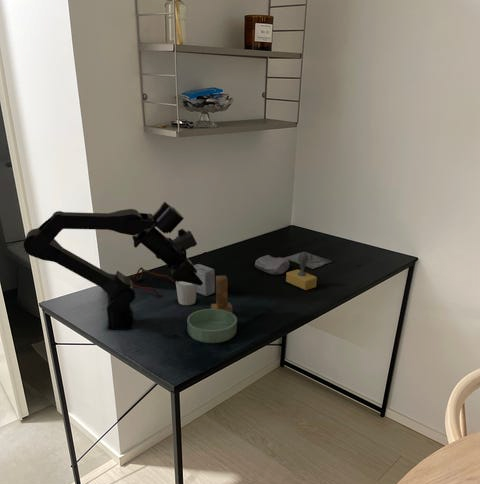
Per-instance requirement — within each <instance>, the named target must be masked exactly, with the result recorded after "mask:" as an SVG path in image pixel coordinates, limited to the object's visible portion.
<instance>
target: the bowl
mask: <svg viewBox="0 0 480 484" xmlns="http://www.w3.org/2000/svg"><path fill="white" fill-rule="evenodd" d="M186 322H187V323H186V326H187V329H186V330H187V331H186V332H187V333H188V335H189V337H190V338H192V339H193V340H195V341H198V342H200V343H205V344H218V343H224V342H227V341H229V340H231V339H232V338H234V337H235V335H236V334H237V332H238V317H237V315H236V314H235V313H233V312H232V313H231V312H229V311H226V310H222V309H211V308H204V309H198V310H196V311H193V312H192V313H191V314H189V315H188V316H187V320H186Z"/></svg>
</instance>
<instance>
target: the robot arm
mask: <svg viewBox="0 0 480 484" xmlns="http://www.w3.org/2000/svg"><path fill="white" fill-rule="evenodd" d="M184 219H185V218H184V216H183V215H182V214H181V213H180V212H179V211H178V210H177V209H176V208H175V207H173V206H172V205H170V204H168V203H167V202H166V201H163V202H162V203H161V205H160V207H159V208H158V209H157V210H156V211H155V212H154V214H152V213H145V212H139V211H138V210H137V209H135V208H127V209H126V208H125V209H120V210H115V211H112V212H78V211H77V212H73V211H72V212H71V211H62V210H58V211H54V212H53V214H52V215H51V216H50V217H48V219H47V220H45V221H44V222H43V223H42V224H41V225H39V227H37V228H32V229H30V230H29V231H28V232H27V233H26V236H25V238H24V240H23V248H24V251H25V253H26V254H27V255H29V256H30V257H33V258H36V259H39V260H42V261H46V262H53V263H55V264H57V265H59V266H62V267H63V268H65V269H66V270H69V271H70V272H72V273H73V274H76V275H78V276H80V277H81V278H83V279H85V280H87V281H88V282H91V283H92V284H94V285H96V286H98V287H99V288H101V289H102V290H103V291H104V292H105V293H106V294H107V295H106V296H107V306H106V314H107V322H108V323H107V327H106V328H107V330H130V329H131V327H132V325H133V323H134V310H133V308H131V304H132V303H133V302H134V301H135V298H136V291H135V286H133V284H134V283H133V280H132V281H131V278H130V277H129V275H128V276H127V275H124V274H123V273H122V272H121V271H119V270H116V272H115V274H114V273H109V272H107V271H105V270H103V269H101V268H100V267H98V266H96V265H94V264H93V263H91V262H89V261H87V260H85V259H83V258H82V257H80V256H78V255H77V254H76V253H73V252H72V251H69V249H66V248H65V247H63V246H62V245H61V244H60V243H59V242H58V241H57V240H56V239H55V238H56V237H57V236H58V235H59V234H60V233H61V232H62V231H63V230H94V231H95V230H98V231H102V230H104V231H111V232H116V233H118V234H123V235H128V236H131V237H132V240H133V244H132V245H133V247H134V248H135V249H136V248H138V246H140V244H141V245H143V246H144V247H145V248H147V249H148V250H149V251H150V252H151V253H153V254H154V255H155V258H156V259H158V260H161V261H162V262H163V263H164V264H166V267H167V268H168V269H170V270H171V271H170V272H171V277H172V279H173V280H174V281H175V282H176V281H177V282H179V281H180V282H181V281H182V282H188V283H192V284H196V285H200V286H201V285H202V284H203V282H202V281H201V279H200V278H199V277H198V276H197V275H196V273H197V270H196V269H195V268H194V265H195V264H193V262H192V261H191V260H190V259H189V258H188V257H187V250H189V249H191V248H194V247H196V246H197V245H198V242H197V241H196V238H195V237H194V235H193V233H192V231H191V230H185V229H184V228H180V229H178V230H177V236H175V238H174V239H173V238H171V237H166V236H165V235H164V234H167V235H168V234H171V233H172V232H173V231H174V230H175V228H177V227H178V226H179V225H180V223H182V221H183V220H184ZM171 267H172V268H171Z"/></svg>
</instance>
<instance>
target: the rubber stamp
mask: <svg viewBox="0 0 480 484" xmlns="http://www.w3.org/2000/svg"><path fill="white" fill-rule="evenodd" d="M305 252H306V251H302V253H301V252H299V253H300V254H299V257H298V260H299V264H298V265H299V267H300V269H293V270H291V271H288V272H287V271H286V273H285V274H286V275H285V276H286V277H285V282H286V283H288V284H290V285H292V286H294V287H297V288H299V289H302V290H304V291H308V290H311V289H314V288H317V281H318V277H317V276H315V275H312V274H311V273H307V272H305V267H307V266H306V264H307V261H308V255H307V253H308V252H307V253H305Z"/></svg>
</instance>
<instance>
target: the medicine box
mask: <svg viewBox="0 0 480 484" xmlns="http://www.w3.org/2000/svg"><path fill="white" fill-rule="evenodd" d="M193 265H194V268H195V269H196V270H197V273H196V275H197V276H198V277H199V278H200V279H201V281H202V282H203V284H202V285H201V286H200V285H197V291H196V294H199V295H202V296H205V297H208V296H210V295H212V294H216V276H215V275H216V273H215V269H214V268H212V267H209V266H206V265H203V264H200V263H197V264H193Z"/></svg>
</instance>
